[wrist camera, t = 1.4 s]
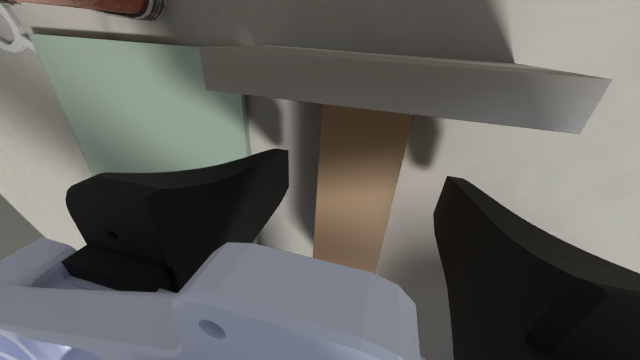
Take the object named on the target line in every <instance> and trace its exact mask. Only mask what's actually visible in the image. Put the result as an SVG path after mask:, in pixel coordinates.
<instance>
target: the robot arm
mask: <svg viewBox="0 0 640 360" xmlns="http://www.w3.org/2000/svg"><path fill="white" fill-rule="evenodd" d="M288 187H289V169H288V150H282V149H271V150H267V151H264V152H261V153H257V154H254V155H251V156H248V157H245V158H241V159H238V160H234V161H231V162H227V163H223V164H219V165H214V166H209V167H204V168H198V169H190V170H182V171H172V172H155V173H111V172H104V173H99V174H97V175H95V176H93V177H90V178H88V179H86V180H84V181H81V182H79V183H77V184H75V185H73V186H71V187H70V188H69V189H68V190H67V195H66V205H67V208H68V211H69V213H70V215H71V217H72V219H73V220H74V222H75V224H76V226H77V227H78V229H79V231H80V233H81V235H82V236H83V238H84V240H85V242H86V243H87V245H86V246H84V247H83V248H81V249H80V250H78V251H76V250H75V249H74V248H73V247H71V246H69V245H67V244H63V243H60V242H57V241H53V240H50V239H46V238H40V239H39V240H37V241H35V242H33V243H31V244H30V245H28V246H26V247H24V248H22V249H21V250H19V251H17V252H15V253H13V254H12V255H10V256H8V257H6V258H4V259H2V260H1V261H0V360H427V359H425V358H423V357H421V356H420V349H419V337H418V324H417V312H416V304H415V303H414V302H413V301H412V300H411V298H410V297H409V296H408V295H407V294H406V293H405V292H404V291H403V290H402V288H401V287H400V286H399V285H397V284H396V283H394V282H391V281H389V280H387V279H385V278H382V277H380V276H378V275H376V274H373V273H371V272H369V271H365V270H361V269H357V268H352V267H348V266H344V265H340V264H336V263H332V262H328V261H324V260H320V259H316V258H312V257H307V256H303V255H299V254H295V253H291V252H287V251H283V250H279V249H275V248H271V247H267V246H262V245H258V244H254V243H253V242H254V240H255V238H256V237H257V235H258V234H259V232H260V231H261V230H262V228H263V227H264V225H265V224H266V223H267V221H268V220H269V218H270V217H271V216H272V214H273V213H274V211H275V210H276V209H277V207H278V206H279V204H280V203H281V201H282V199H283V197H284V195H285V193H286V191H287V189H288ZM433 216H434V231H435V237H436V241H437V245H438V250H439V254H440V258H441V262H442V266H443V270H444V274H445V279H446V284H447V290H448V298H449V307H450V316H451V327H452V338H453V353H454V360H640V274H639V273H637V272H634V271H632V270H629V269H627V268H624V267H622V266H619V265H616V264H614V263H611V262H609V261H607V260H604V259H602V258H600V257H597V256H595V255H593V254H590V253H588V252H586V251H584V250H582V249H580V248H577V247H575V246H573V245H571V244H569V243H567V242H565V241H563V240H561V239H559V238H557V237H555V236H553V235H551V234H549V233H547V232H545V231H543V230H542V229H540V228H538V227H536V226H534V225H532V224H531V223H529V222H527V221H526V220H524V219H522V218H521V217H519V216H518V215H516V214H515V213H513V212H511V211H510V210H508V209H507V208H505V207H504V206H502V205H501V204H499V203H498V202H497V201H495V200H494V199H492V198H491V197H490V196H488V195H487V194H485V193H484V192H483V191H481V190H480V189H478V188H477V187H476V186H474V185H473V184H471V183H470V182H468V181H467V180H465V179H463V178H457V177H451V176H447V178H446V181H445V183H444V186H443V189H442V192H441V195H440V197H439V200H438V203H437V206H436V208H435V211H434V214H433Z"/></svg>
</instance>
